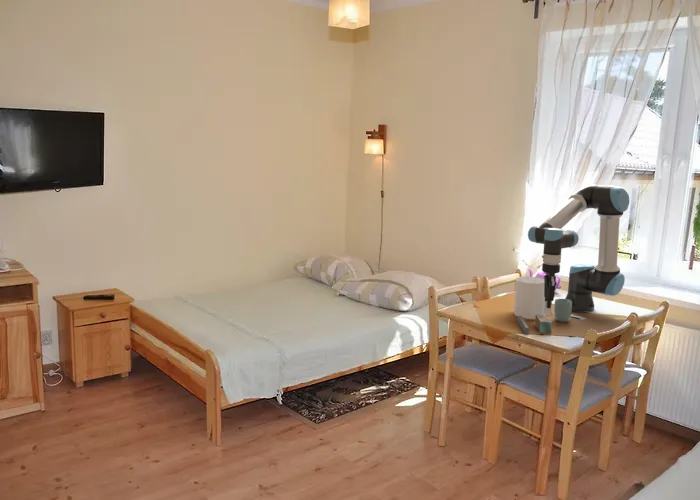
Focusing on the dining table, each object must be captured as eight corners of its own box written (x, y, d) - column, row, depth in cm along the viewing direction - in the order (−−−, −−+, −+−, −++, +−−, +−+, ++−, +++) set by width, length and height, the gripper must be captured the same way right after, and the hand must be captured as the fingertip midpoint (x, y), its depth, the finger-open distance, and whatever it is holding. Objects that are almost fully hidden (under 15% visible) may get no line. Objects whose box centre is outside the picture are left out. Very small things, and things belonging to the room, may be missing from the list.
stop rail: (521, 322, 293) (521, 316, 293) (528, 334, 276) (528, 327, 275) (517, 321, 293) (518, 315, 293) (525, 334, 276) (525, 327, 275)
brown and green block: (551, 332, 278) (545, 325, 289) (551, 322, 277) (546, 315, 288) (539, 332, 279) (534, 324, 289) (540, 321, 278) (535, 314, 288)
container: (517, 309, 315) (519, 275, 312) (546, 313, 309) (548, 278, 305) (511, 316, 302) (513, 281, 299) (541, 321, 296) (544, 284, 293)
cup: (550, 318, 300) (552, 298, 298) (566, 318, 301) (567, 298, 299) (557, 323, 292) (559, 303, 290) (573, 323, 293) (574, 302, 291)
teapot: (521, 291, 351) (523, 269, 349) (530, 286, 362) (531, 265, 360) (556, 296, 340) (558, 274, 337) (564, 291, 351) (566, 270, 349)
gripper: (539, 259, 278) (535, 309, 282) (546, 266, 265) (542, 318, 270) (556, 260, 277) (552, 310, 282) (563, 266, 265) (559, 318, 269)
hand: (547, 314), depth 276 cm, fingers closed
